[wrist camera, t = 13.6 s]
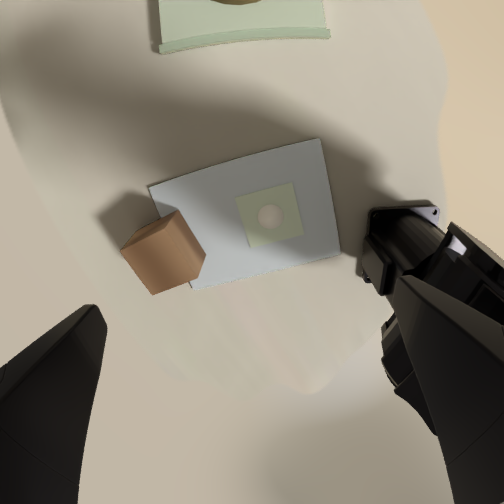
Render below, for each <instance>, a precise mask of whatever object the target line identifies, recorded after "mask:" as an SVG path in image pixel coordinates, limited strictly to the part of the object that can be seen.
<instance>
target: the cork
mask: <svg viewBox="0 0 504 504" xmlns="http://www.w3.org/2000/svg"><path fill="white" fill-rule="evenodd" d="M211 1H215V2H218V3H222V4H228V5H244V4H251V3H256V2H259V1H261V0H211Z"/></svg>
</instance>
